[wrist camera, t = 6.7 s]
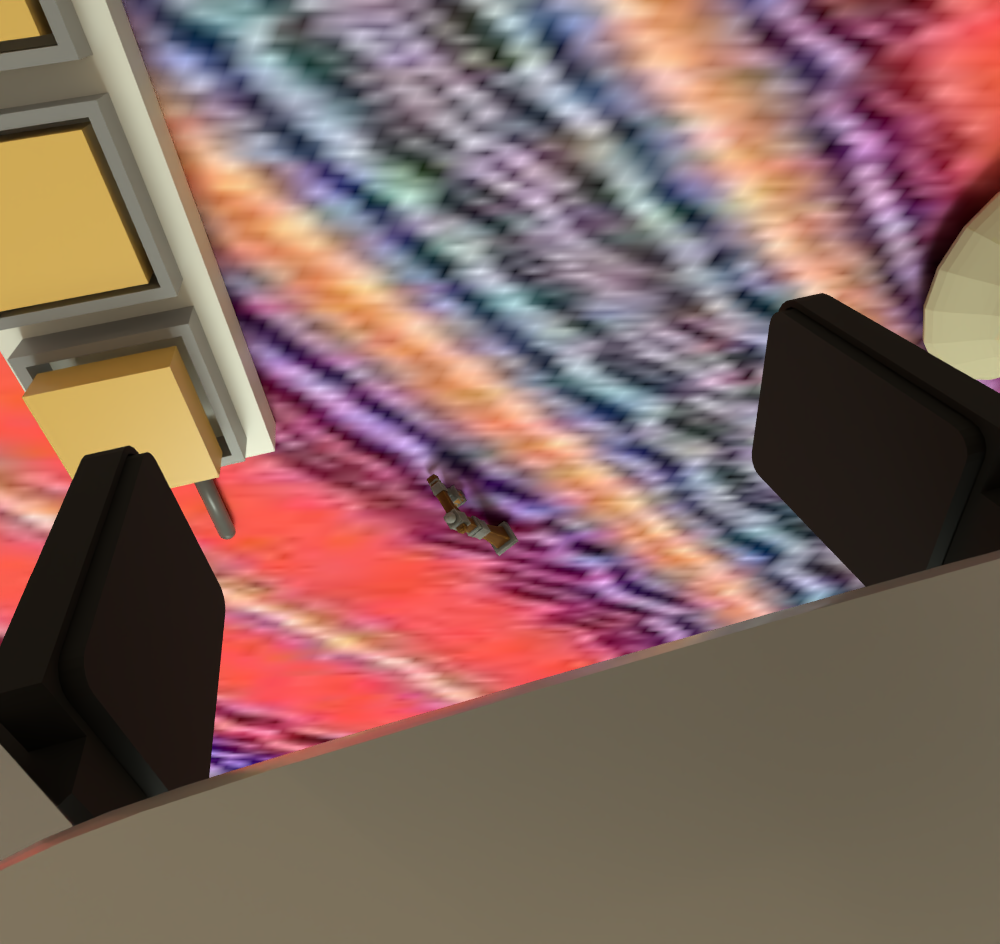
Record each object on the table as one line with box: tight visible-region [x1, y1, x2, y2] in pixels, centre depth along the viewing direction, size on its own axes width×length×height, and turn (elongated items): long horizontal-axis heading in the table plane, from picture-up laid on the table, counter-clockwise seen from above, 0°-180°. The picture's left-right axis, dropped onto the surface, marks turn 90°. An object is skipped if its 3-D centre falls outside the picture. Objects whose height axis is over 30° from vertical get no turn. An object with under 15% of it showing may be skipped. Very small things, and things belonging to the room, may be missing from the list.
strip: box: [0, 0, 276, 539], centre depth 31 cm, size 10×35×5 cm, turn 6°
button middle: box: [0, 121, 154, 312], centre depth 28 cm, size 6×6×2 cm
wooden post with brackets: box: [427, 474, 518, 556], centre depth 46 cm, size 2×8×4 cm, turn 38°
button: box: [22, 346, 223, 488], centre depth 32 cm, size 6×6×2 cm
